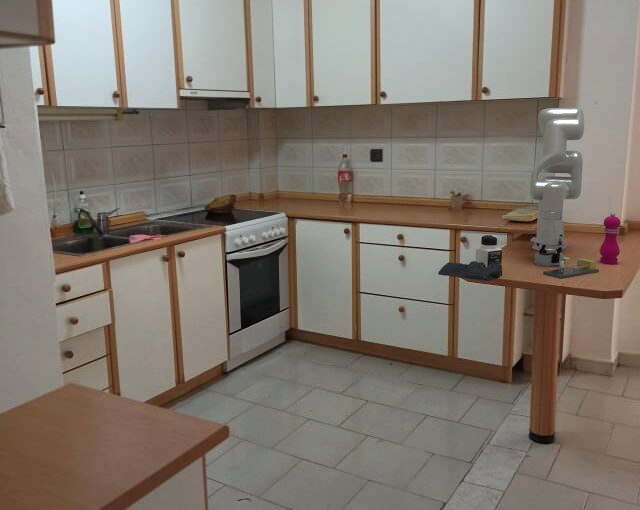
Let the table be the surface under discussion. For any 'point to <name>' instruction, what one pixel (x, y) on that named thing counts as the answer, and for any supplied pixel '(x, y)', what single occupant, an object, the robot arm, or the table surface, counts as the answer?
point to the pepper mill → (610, 240)
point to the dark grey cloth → (472, 270)
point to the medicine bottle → (489, 251)
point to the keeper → (574, 269)
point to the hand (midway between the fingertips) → (549, 261)
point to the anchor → (566, 260)
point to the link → (546, 259)
